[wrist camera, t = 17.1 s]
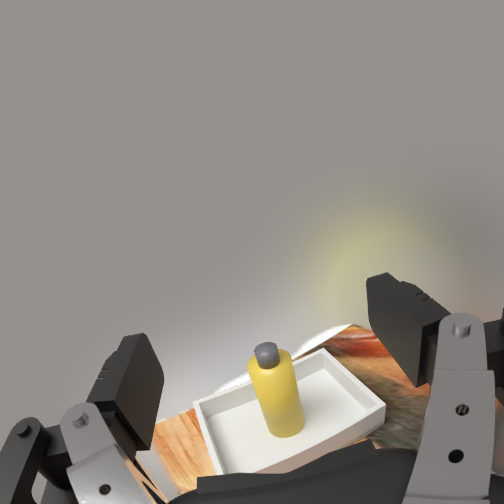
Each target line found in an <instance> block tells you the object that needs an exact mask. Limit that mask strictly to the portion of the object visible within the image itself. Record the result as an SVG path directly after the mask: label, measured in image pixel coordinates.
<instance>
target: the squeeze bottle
mask: <svg viewBox="0 0 504 504" xmlns="http://www.w3.org/2000/svg"><path fill="white" fill-rule="evenodd" d="M254 352H255V355H254V356H253V357H252V358H251V359H250V360H249V362H248V365H247V368H248V372H249V375H250V378H251V381H252V384H253V387H254V390H255V393H256V396H257V398H258V401H259V404H260V407H261V410H262V413H263V416H264V419H265V422H266V425H267V427H268V430H269V432H270V433H271V434H272V435H273V436H275V437H279V438H288V437H292V436H294V435H296V434H298V433H299V432H300V431H301V430H302V429H303V427H304V424H305V420H304V415H303V410H302V406H301V401H300V396H299V391H298V387H297V382H296V377H295V373H294V368H293V364H292V359H291V356H290V354H289V353H288V352H287V351H285V350H282V349H277V345H276V344H274V343H272V342H266V343H262V344H260V345H258V346H257V347H256V348H255V350H254Z"/></svg>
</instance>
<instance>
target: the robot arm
mask: <svg viewBox="0 0 504 504" xmlns="http://www.w3.org/2000/svg"><path fill="white" fill-rule="evenodd" d="M366 288H367V301H368V316H369V322H370V325H371V328H372V330H373V332H374V333H375V334H376V336H377V337H378V338H379V340H380V341H381V342H382V344H383V345H384V346H385V347H386V349H387V350H388V351H389V353H390V354H391V355H392V357H393V358H394V359H395V361H396V362H397V363H398V365H399V366H400V367H401V369H402V370H403V371H404V373H405V374H406V375H407V377H408V378H409V379H410V381H411V382H412V383H413V385H414V386H415V387H416V388H417V387H419V386H421V385H424V384H426V383H428V384H429V385H430V386H431V388H430V393H429V398H428V403H427V408H426V413H425V418H424V422H423V427H422V431H421V435H420V439H419V443H418V446H417V450H413V449H406V448H380V449H375V447H374V445H373V443H372V441H371V439H368V440H366V441H363V442H360V443H357V444H354V445H351V446H348V447H345V448H342V449H339V450H336V451H332V452H329V453H327V454H325V455H323V456H321V457H319V458H317V459H315V460H313V461H311V462H309V463H307V464H305V465H303V466H301V467H299V468H297V469H294V470H292V471H290V472H287V473H281V474H270V473H240V472H238V473H231V474H224V475H215V476H206V477H197V489H195V490H192V491H189V492H187V493H184V494H182V495H180V496H178V497H176V498H174V499H173V500H171V501H169V500H168V499H167V498H166V497H165V496H164V495H163V493H162V492H161V491H160V489H159V488H158V487H157V486H156V484H155V483H154V482H153V480H152V479H151V478H150V476H149V475H148V473H147V472H146V471H145V469H144V468H143V467H142V465H141V464H140V463H139V461H138V460H137V459H136V458H135V456H136V451H145V450H150V447H151V442H152V437H153V432H154V427H155V422H156V417H157V412H158V408H159V403H160V398H161V394H162V389H163V385H164V374H163V370H162V367H161V365H160V363H159V361H158V359H157V357H156V354H155V352H154V350H153V348H152V346H151V344H150V342H149V339H148V338H147V336H146V335H145V334H144V333H140V334H135V335H129V336H125V337H123V339H122V341H121V343H120V345H119V347H118V349H117V351H115V352H114V353H113V354H112V355H111V356H110V357H109V358H108V359H107V360H106V361H105V363H104V365H103V367H102V369H101V370H102V371H101V372H100V373H99V375H98V379H97V380H96V382H95V384H94V386H93V388H92V390H91V392H90V394H89V396H88V398H87V401H86V403H80V404H77V405H75V406H73V407H71V408H70V409H69V410H67V411H66V413H65V414H64V415H63V416H62V418H61V421H60V425H56V426H52V427H48V428H44V427H43V425H42V424H41V423H40V422H39V420H38V419H36V418H34V417H29V418H25V419H23V420H21V421H20V422H18V423H17V424H16V425H15V426H14V427H13V428H12V430H11V432H10V434H9V436H8V438H7V440H6V442H5V444H4V446H3V448H2V450H1V452H0V504H37V503H36V502H35V501H34V499H33V497H32V493H31V490H32V486H33V483H34V480H35V478H36V475H37V472H38V471H39V472H40V473H41V474H42V475H43V476H44V477H45V478H46V479H47V480H48V481H47V484H46V487H45V490H44V494H43V497H42V500H41V504H504V308H503V313H502V318H501V319H500V320H496V321H491V322H487V323H482V321H481V320H480V319H479V318H478V317H476V316H474V315H472V314H468V313H454V314H451V313H449V312H448V311H447V310H446V309H445V308H443V307H442V306H441V305H440V304H438V303H437V302H436V301H434V300H433V299H432V298H431V299H430V297H429V296H428V295H427V294H426V293H423V291H422V290H421V289H419V288H418V287H417V286H416V285H413V284H410V283H407V282H404V281H402V282H399V281H398V280H396V279H395V278H394V277H393V276H391V275H390V274H389V273H387V272H386V273H383V274H380V275H376V276H373V277H370V278H368V279H367V281H366ZM495 397H496V398H497V399H498V400H499V403H498V405H497V408H496V410H495Z"/></svg>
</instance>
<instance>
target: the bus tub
mask: <svg viewBox="0 0 504 504" xmlns="http://www.w3.org/2000/svg"><path fill="white" fill-rule="evenodd" d="M292 364H293V368H294V373H295V377H296V382H297V387H298V391H299V396H300V401H301V406H302V410H303V415H304V420H305V424H304V427H303V429H302V430H301V431H300V432H299V433H298V434H296V435H294V436H292V437H288V438H279V437H275V436H273V435H272V434H271V433H270V432H269V430H268V427H267V425H266V422H265V419H264V416H263V413H262V410H261V407H260V404H259V401H258V398H257V396H256V393H255V390H254V387H253V384H252V381H251V380H250V381H247V382H245V383H242V384H240V385H237V386H235V387H232V388H229V389H227V390H224V391H221V392H219V393H216V394H213V395H210V396H207V397H205V398H202V399H199V400H196V401H193V404H194V408H195V411H196V414H197V418H198V421H199V424H200V427H201V430H202V434H203V437H204V440H205V443H206V446H207V449H208V452H209V454H210V457H211V460H212V463H213V466H214V469H215V471H216V474H217V475H224V474H231V473H238V472H240V473H270V474H281V473H287V472H290V471H292V470H294V469H297V468H299V467H301V466H303V465H305V464H307V463H309V462H311V461H313V460H315V459H317V458H319V457H321V456H323V455H325V454H327V453H329V452H332V451H336V450H339V449H342V448H345V447H348V446H350V445H352V444H354V443H355V442H357V441H359V440H360V439H362V438H364V437H365V436H367V435H369V434H370V433H372V432H373V431H375V430H376V429H378V428H380V427H381V426H383V425H384V421H385V409H386V404H385V403H384V402H383V401H382V400H381V399H380V398H378V397H377V396H376V395H375V394H374V393H373V392H372V391H371V390H369V389H368V388H367V387H366V386H365V385H364V384H363V383H362V382H360V381H359V380H358V379H357V378H356V377H355V376H354V375H353V374H352V373H350V372H349V371H348V370H347V369H346V368H345V367H344V366H343V365H342V364H340V363H339V362H338V361H337V360H336V359H335V358H334V357H333V356H332V355H330V354H329V353H328V352H327V351H326V350H325V349H324V348H322V349H320V350H318V351H316V352H314V353H312V354H310V355H307V356H305V357H303V358H301V359H299V360H297V361H294V362H292Z"/></svg>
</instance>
